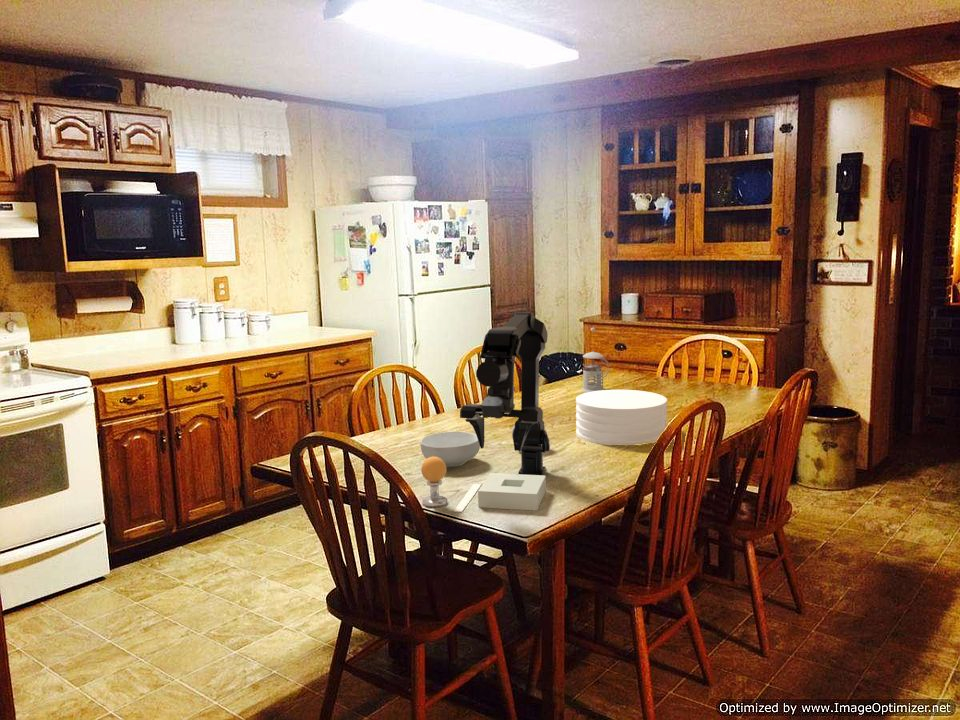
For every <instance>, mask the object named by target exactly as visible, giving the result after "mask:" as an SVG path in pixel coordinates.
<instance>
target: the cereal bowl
mask: <svg viewBox="0 0 960 720" xmlns="http://www.w3.org/2000/svg"><path fill="white" fill-rule="evenodd" d="M480 449H481V447H480V444H479V441H478V438H477V435H476V433H473V432H468V431H443V432H436V433H431V434H428V435H426V436H424V437H422V438H421V439H420V450H421V454H422V456H424V458H425V460H426V459H427V458H429V457H439V458H440V459H442V460H443V461H444V463H445V465H446V468H448V467H450V468H451V467H458V466H462V465H464V464H465V463H467V462H468V461H471V460H472V459H473V458H475V457H476V456H477V454H478V453H479V451H480Z"/></svg>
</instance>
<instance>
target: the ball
mask: <svg viewBox="0 0 960 720" xmlns="http://www.w3.org/2000/svg"><path fill="white" fill-rule="evenodd" d="M420 467H421V468H420V471H421V474H422V476H423V478H424V479H425V480H426V481H431V482H437V481H439V480H443V478H445V476H446V474H447V467H446V465H445V463H444V461H443V460H442V459H440V458H439V457H429V458H427V459H426V458H425V460H424V461H423V462H422V464H421V466H420Z"/></svg>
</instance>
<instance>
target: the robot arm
mask: <svg viewBox="0 0 960 720" xmlns="http://www.w3.org/2000/svg"><path fill="white" fill-rule="evenodd" d="M547 342H548V329H547V328H546V325H545V324H544V322H542V321H541V320H540V319H538V318H536V316H535V314H534V313H532V312H530V311H529V312H528V311H525V312H523V311H519V312H518V311H517V312H514V313H512V316H511V318H510V319H509V320H507V322H506V323H505V324H504V325H502V326H500V327H497V326H496V327H492V328H490V329H488V331H487V333H485V335H484V339H483V343H482V348H481V352H480V356H479V358H480V359H484V361H482V362H480V364H479V365H478V366H477V369H476V371H475V377H476V380H477V381H478V383H479V384H480V385H482V386H484V387H488V388H487V395H486V397H485V398H484V399H483V401H482V402H481V403H480V404H478V403H477V404H475V403H467V404H465V405H462V406H461V407H460V411H459V418H461V419H465V422H466V423H469V424H470V425H471V426H472V427H473V430H474V432H475V433H474V434H476V435H477V438H478V441H479V444H480V449H484V447H485V419H488V418H494V419H496V420H497V419H502V418H517V420H516V421H515V422H514V424H515V428H514V430H513V438H512V440H513V441H512V442H513V447H514V450H513V451H515V452H517V451H519V452H520V454H521V455H520V458H521V460H520V461H521V465H520V468H519V471H518V473H517V474H522V475H543V474H544V473H545V471H546V469H547V468H546V466H544V465H543V464H544V463H543V462H544V461H543V457H544V456H543V454H545V453H546V452H550V450H551V449H550V447H551V446H550V445H551V444H550V438H549V436H548V433H547V430H546V428H545V427H546V426H545V422H544V420H543V418H544V411H543V409H542V408H541V407H540V406H539V405H540V404H539V403H540V402H539V391H540V386H539V385H540V377H539V376H540V373H539V372H540V357H542V356H541V355H542V354H543V353H544V351H545V349H546V344H547ZM518 356H519V357H520V359H521V380H520V381H521V383H520V385H521V392H520V393H521V394H520V398H521V399H520V402H521V403H520V404H521V405H520V409H515V408H516V407H515V405H516V404H515V403H514V401H515V400H514V399H515V398H514V397H515V396H514V395H515V393H514V392H515V391H516V386H515V362H516V361H515V359H516V357H518ZM543 476H544V475H543Z"/></svg>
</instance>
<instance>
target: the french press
mask: <svg viewBox="0 0 960 720" xmlns="http://www.w3.org/2000/svg"><path fill="white" fill-rule="evenodd" d="M590 331H591V332H596V328H595V327H591V328H590ZM582 358H584V359H587V360H588V359H590V360H596V359H597V360H598V359H599V360H601V363H604V362H605V364H606V365H607V366H610V363H609V361H608V360H607V359H605V358H604V355H603V354H601V353H599V352H595V351H591V352H587V353H584V354H583V355H582ZM583 367H584V369H583V374H582V377H583V378H582V380H583V382H582V384H583V387H582V388H581V389H580V392H584V393H587V392H592V391H600V390H606V389H605V388H604V378H605V377H607V375H608V374H609V372H610V369H606V370H605V373H604V370H603V369H601V368H602V367H603V365H602V364H594V363H592V364H591V363H590V364H585V365H583Z"/></svg>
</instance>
